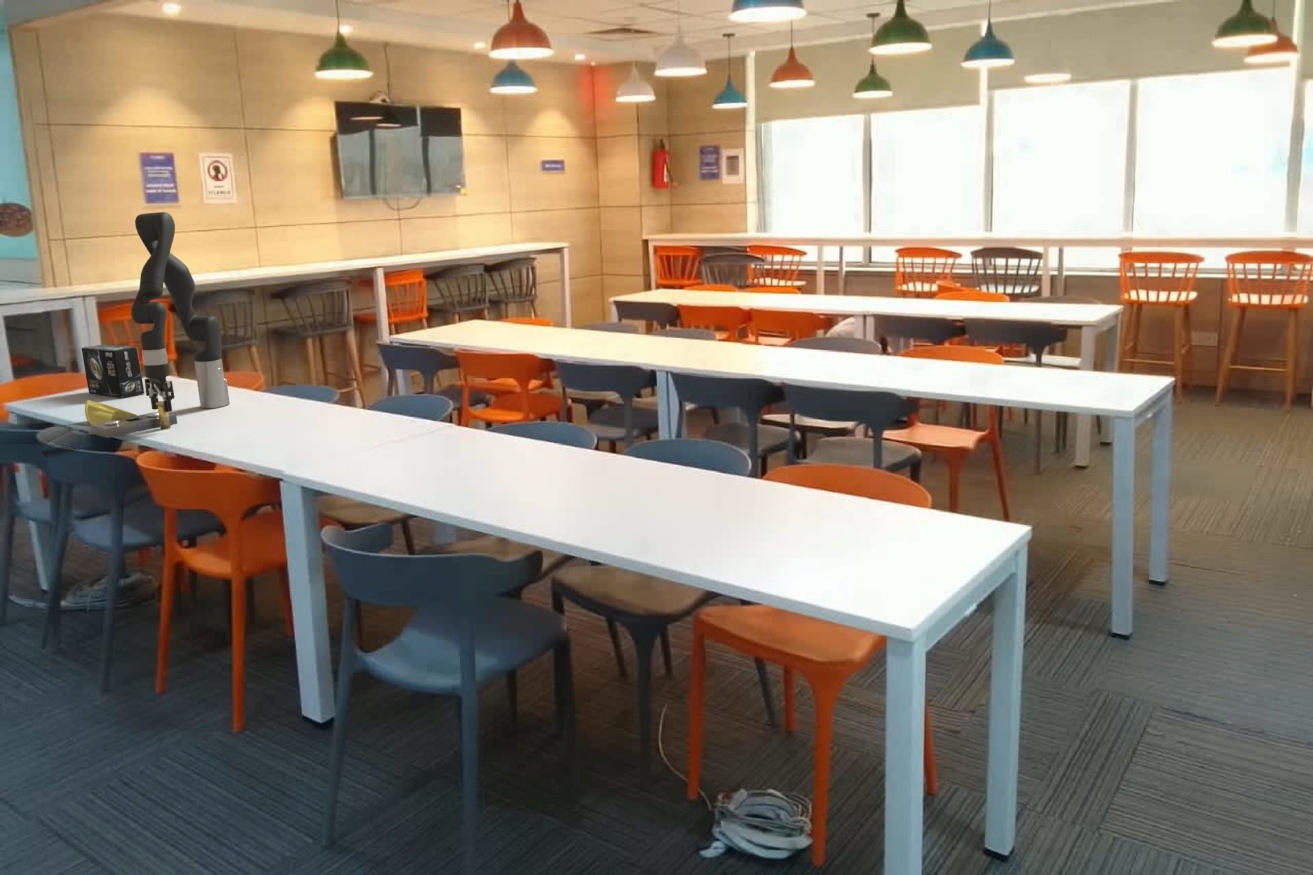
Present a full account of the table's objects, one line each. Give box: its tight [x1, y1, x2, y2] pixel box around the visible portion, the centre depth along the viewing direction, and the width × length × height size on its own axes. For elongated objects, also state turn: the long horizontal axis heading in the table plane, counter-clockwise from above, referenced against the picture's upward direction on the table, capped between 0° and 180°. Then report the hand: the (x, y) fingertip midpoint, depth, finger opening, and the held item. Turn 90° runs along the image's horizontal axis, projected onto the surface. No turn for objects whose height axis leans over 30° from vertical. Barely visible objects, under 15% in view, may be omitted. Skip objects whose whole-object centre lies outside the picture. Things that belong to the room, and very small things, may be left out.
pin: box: [156, 400, 171, 430], centre depth 353 cm, size 4×4×9 cm
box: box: [81, 344, 145, 399], centre depth 414 cm, size 23×10×19 cm, turn 58°
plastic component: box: [84, 399, 138, 425], centre depth 365 cm, size 20×7×10 cm
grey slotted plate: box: [89, 411, 178, 439], centre depth 354 cm, size 24×11×4 cm, turn 142°
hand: (162, 410), depth 352 cm, fingers open, 8 cm apart
